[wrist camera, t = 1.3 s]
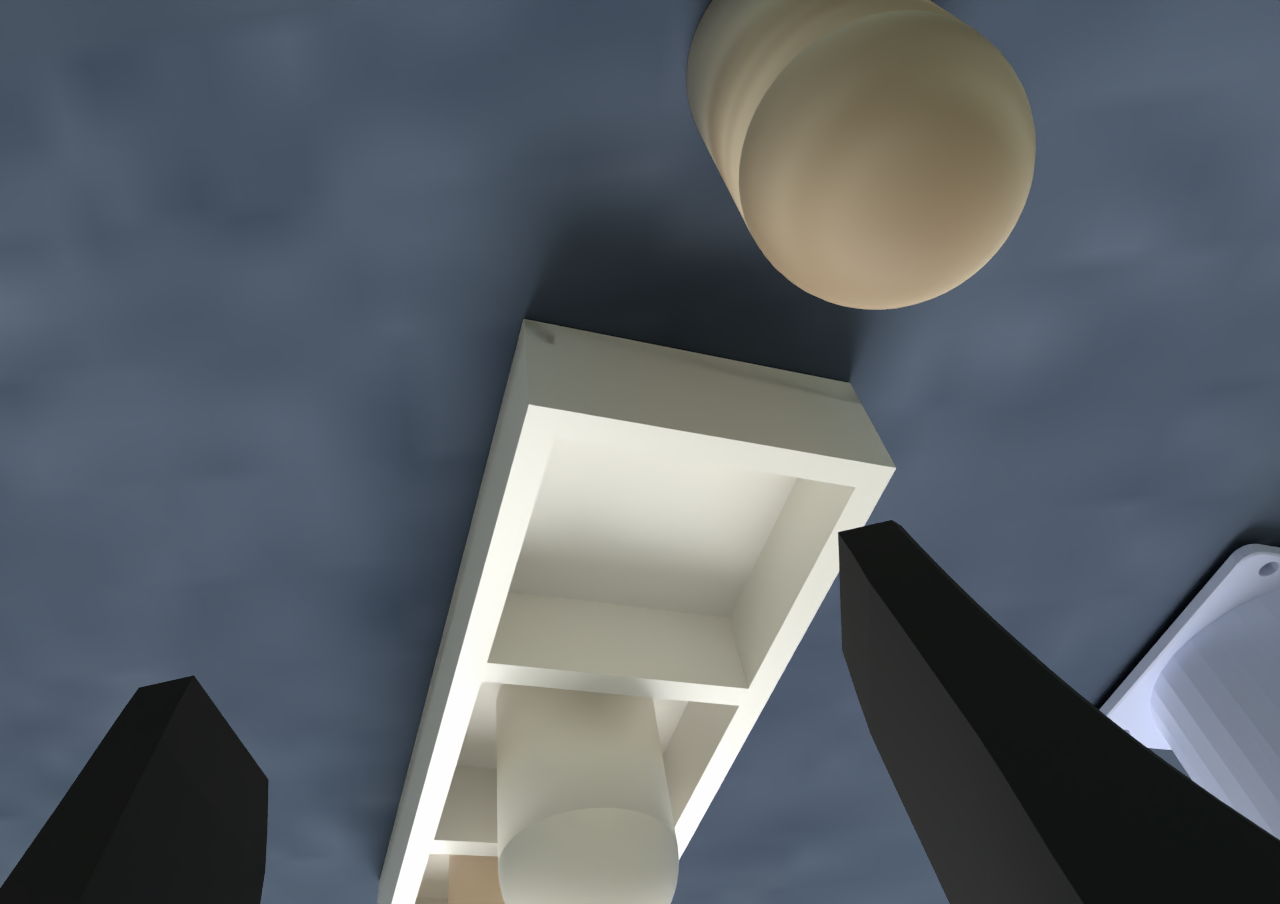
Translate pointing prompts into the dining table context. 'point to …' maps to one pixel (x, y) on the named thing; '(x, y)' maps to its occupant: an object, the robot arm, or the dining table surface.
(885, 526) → the robot arm
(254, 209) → the dining table surface
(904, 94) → the wooden egg
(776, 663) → the egg carton
